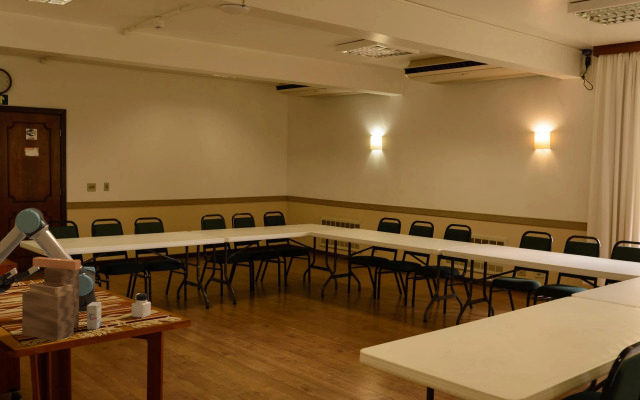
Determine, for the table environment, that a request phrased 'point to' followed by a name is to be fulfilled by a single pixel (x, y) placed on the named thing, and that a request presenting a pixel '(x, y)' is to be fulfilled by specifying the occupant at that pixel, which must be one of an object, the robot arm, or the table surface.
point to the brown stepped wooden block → (52, 305)
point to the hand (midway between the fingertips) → (27, 268)
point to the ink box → (94, 315)
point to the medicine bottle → (141, 306)
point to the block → (57, 263)
